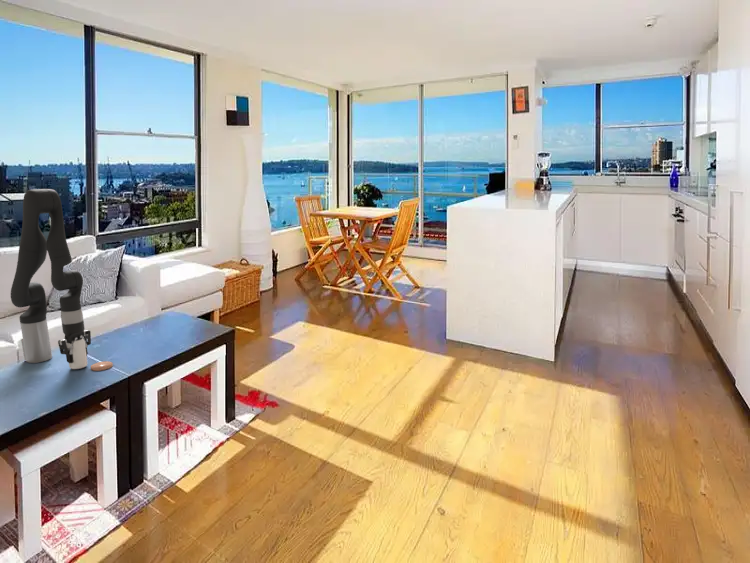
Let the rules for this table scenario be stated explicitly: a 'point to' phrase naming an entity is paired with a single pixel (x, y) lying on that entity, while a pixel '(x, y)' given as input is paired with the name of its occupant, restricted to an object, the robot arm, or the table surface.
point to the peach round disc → (101, 366)
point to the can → (78, 354)
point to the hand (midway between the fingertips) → (77, 359)
